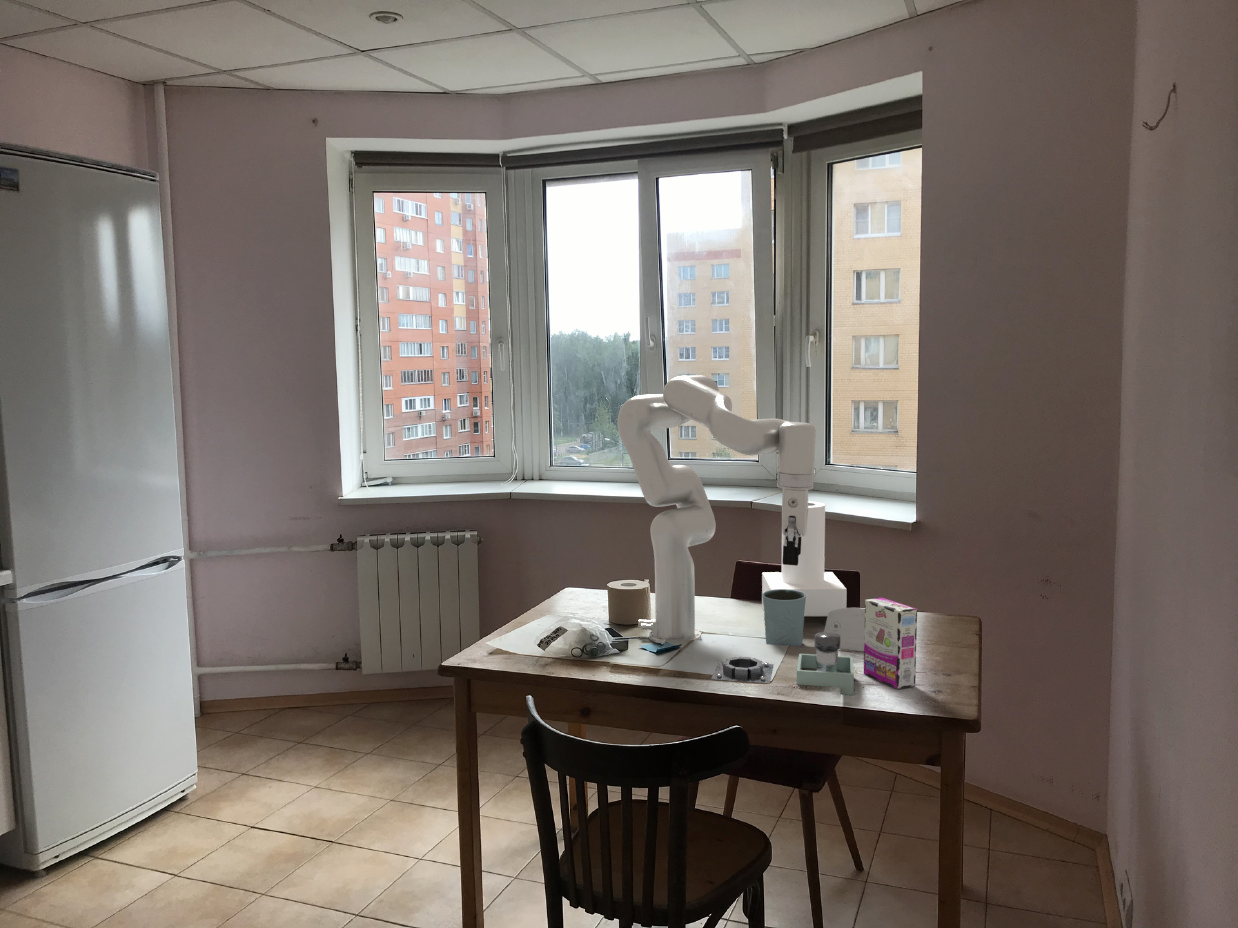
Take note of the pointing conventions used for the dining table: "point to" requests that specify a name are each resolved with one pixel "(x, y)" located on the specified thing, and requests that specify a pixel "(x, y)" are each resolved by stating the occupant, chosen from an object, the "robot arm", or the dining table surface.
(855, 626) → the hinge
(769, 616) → the teal cup
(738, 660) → the stud mount
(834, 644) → the clear and grey cylinder
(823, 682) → the parts bin
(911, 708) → the dining table surface
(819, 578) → the paper towel holder
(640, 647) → the dining table surface
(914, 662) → the candy bar box
